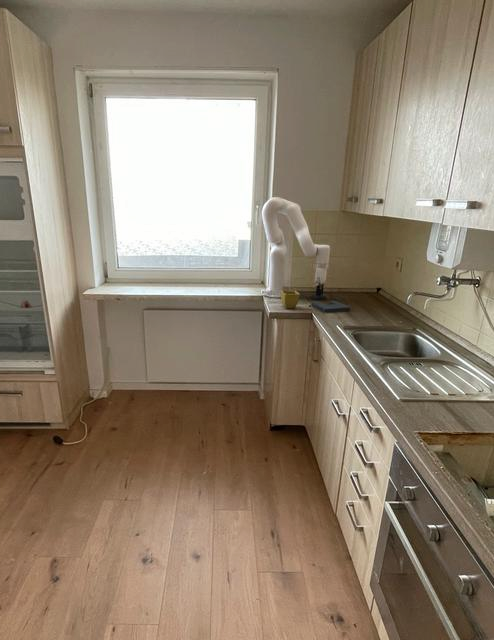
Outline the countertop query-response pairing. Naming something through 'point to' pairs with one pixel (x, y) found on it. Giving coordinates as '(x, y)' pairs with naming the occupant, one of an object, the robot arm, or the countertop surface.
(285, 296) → the flower pot
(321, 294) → the dark stamp
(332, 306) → the big pad
